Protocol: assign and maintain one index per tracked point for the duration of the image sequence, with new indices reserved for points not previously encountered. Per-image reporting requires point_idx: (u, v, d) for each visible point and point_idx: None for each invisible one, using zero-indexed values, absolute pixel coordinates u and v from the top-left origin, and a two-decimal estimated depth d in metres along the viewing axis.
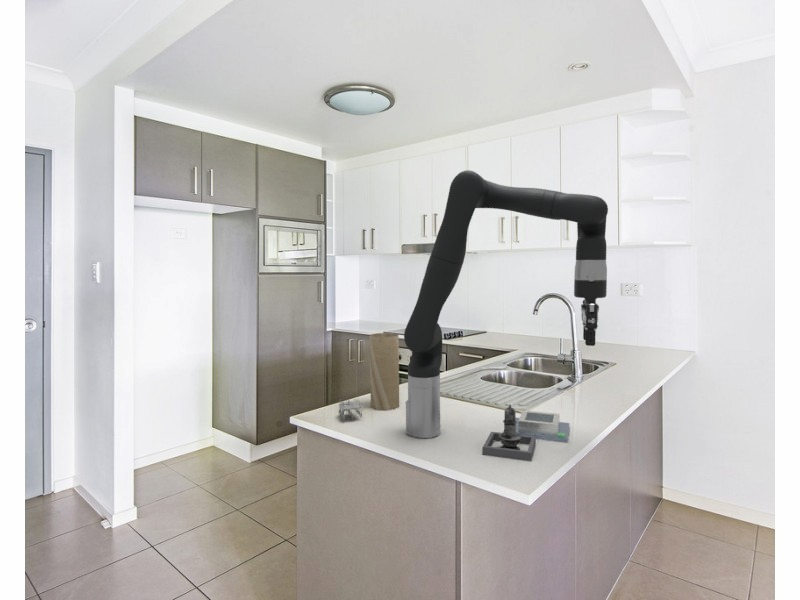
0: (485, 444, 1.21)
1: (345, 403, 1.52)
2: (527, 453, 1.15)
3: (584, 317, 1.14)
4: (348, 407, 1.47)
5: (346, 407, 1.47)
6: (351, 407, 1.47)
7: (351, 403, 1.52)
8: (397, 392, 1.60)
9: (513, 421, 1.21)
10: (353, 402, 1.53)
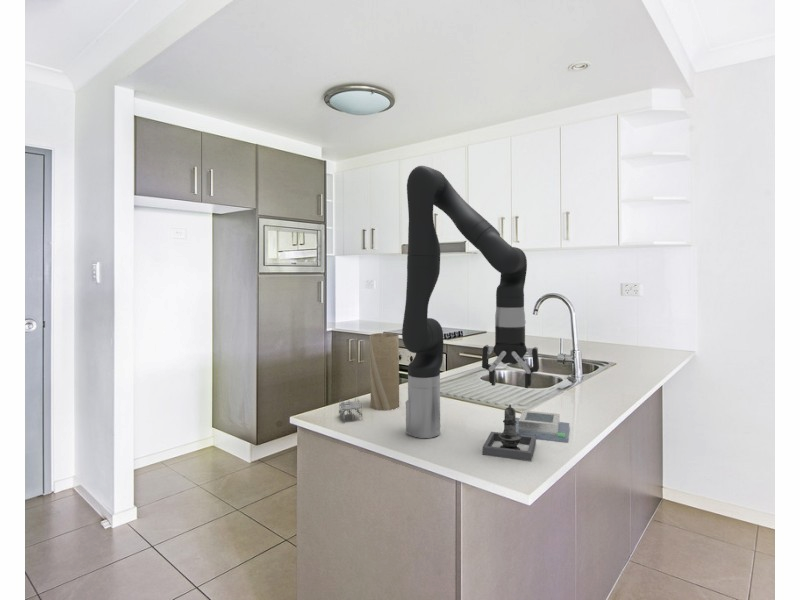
0: (485, 444, 1.21)
1: (345, 403, 1.52)
2: (527, 453, 1.15)
3: (524, 362, 1.19)
4: (348, 407, 1.47)
5: (346, 407, 1.47)
6: (351, 407, 1.47)
7: (351, 403, 1.52)
8: (397, 392, 1.60)
9: (513, 421, 1.21)
10: (353, 402, 1.53)
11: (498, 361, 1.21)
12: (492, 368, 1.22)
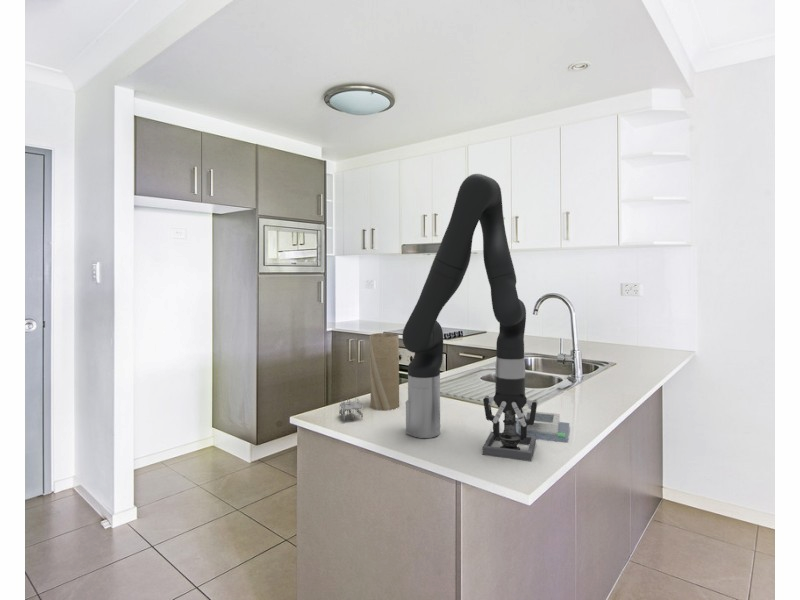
0: (485, 444, 1.21)
1: (346, 403, 1.52)
2: (527, 453, 1.15)
3: (521, 414, 1.20)
4: (349, 407, 1.47)
5: (347, 407, 1.47)
6: (352, 407, 1.47)
7: (352, 403, 1.52)
8: (397, 392, 1.60)
9: (513, 421, 1.21)
10: (354, 402, 1.53)
11: (500, 412, 1.21)
12: (496, 420, 1.22)
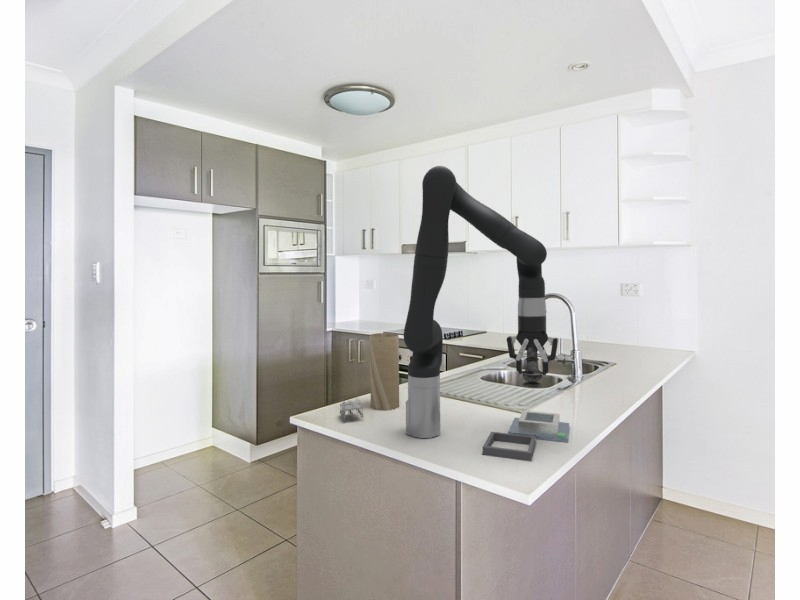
0: (485, 444, 1.21)
1: (346, 403, 1.52)
2: (527, 453, 1.15)
3: (543, 350, 1.27)
4: (349, 407, 1.47)
5: (347, 407, 1.47)
6: (352, 407, 1.47)
7: (352, 403, 1.51)
8: (397, 392, 1.60)
9: (535, 358, 1.28)
10: (354, 402, 1.53)
11: (523, 349, 1.29)
12: (519, 357, 1.30)
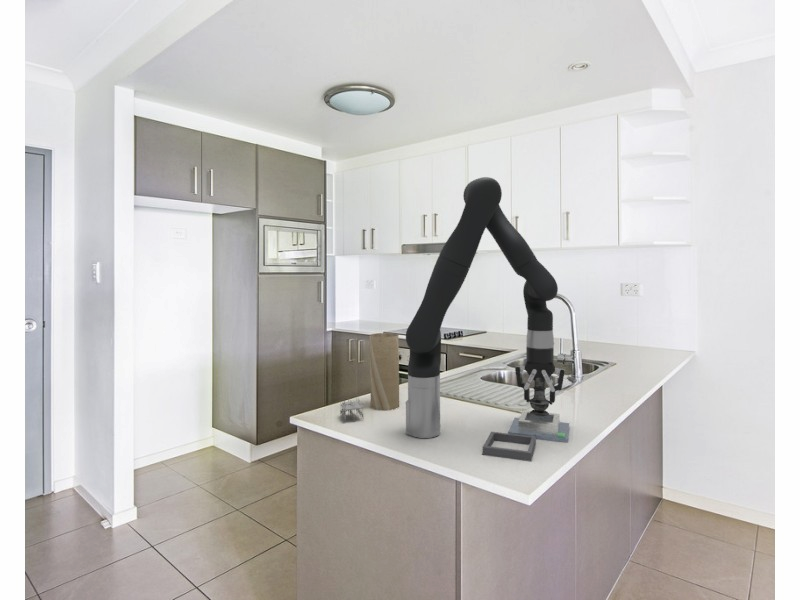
0: (485, 444, 1.21)
1: (347, 403, 1.52)
2: (527, 453, 1.15)
3: (550, 381, 1.33)
4: (349, 407, 1.47)
5: (347, 407, 1.47)
6: (352, 407, 1.47)
7: (353, 403, 1.51)
8: (397, 392, 1.60)
9: (542, 387, 1.34)
10: (355, 402, 1.53)
11: (531, 379, 1.35)
12: (527, 387, 1.36)
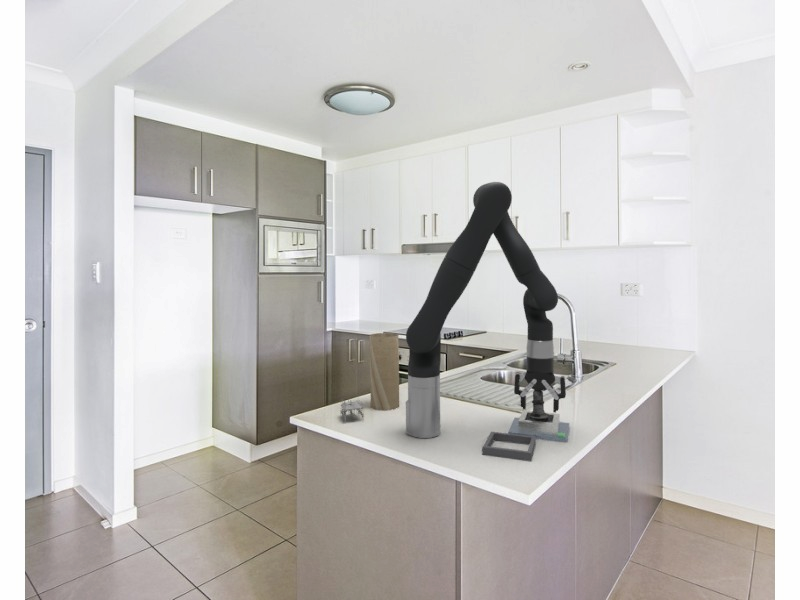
0: (485, 444, 1.21)
1: (347, 403, 1.52)
2: (527, 453, 1.15)
3: (552, 389, 1.33)
4: (350, 407, 1.47)
5: (348, 407, 1.47)
6: (353, 407, 1.47)
7: (353, 403, 1.51)
8: (397, 392, 1.60)
9: (541, 401, 1.35)
10: (355, 402, 1.52)
11: (529, 388, 1.35)
12: (523, 394, 1.36)
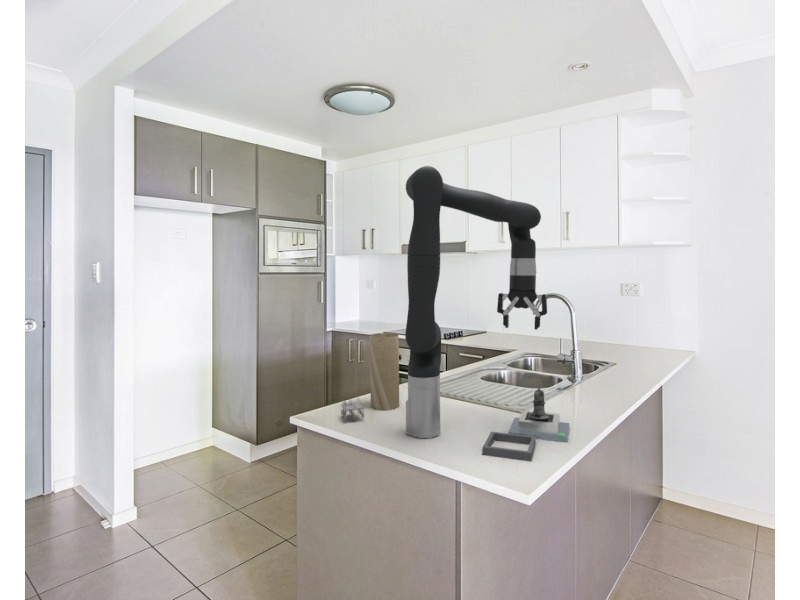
0: (485, 444, 1.21)
1: (348, 403, 1.51)
2: (527, 453, 1.15)
3: (534, 306, 1.36)
4: (350, 407, 1.47)
5: (348, 407, 1.47)
6: (353, 407, 1.47)
7: (353, 403, 1.51)
8: (397, 392, 1.60)
9: (542, 402, 1.34)
10: (356, 402, 1.52)
11: (511, 306, 1.38)
12: (506, 312, 1.40)
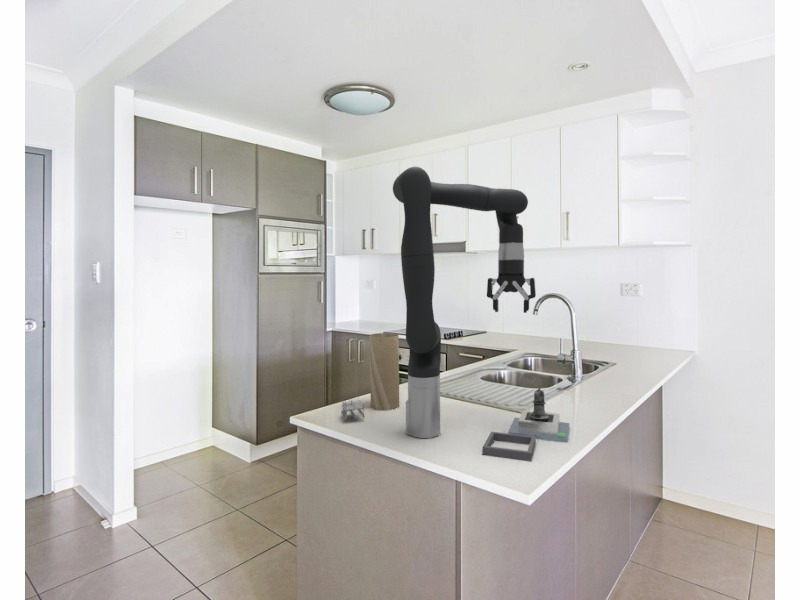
0: (485, 444, 1.21)
1: (348, 403, 1.51)
2: (527, 453, 1.15)
3: (522, 290, 1.39)
4: (350, 407, 1.47)
5: (348, 407, 1.47)
6: (353, 408, 1.47)
7: (354, 403, 1.51)
8: (397, 392, 1.60)
9: (542, 402, 1.34)
10: (356, 402, 1.52)
11: (501, 290, 1.41)
12: (495, 297, 1.42)
